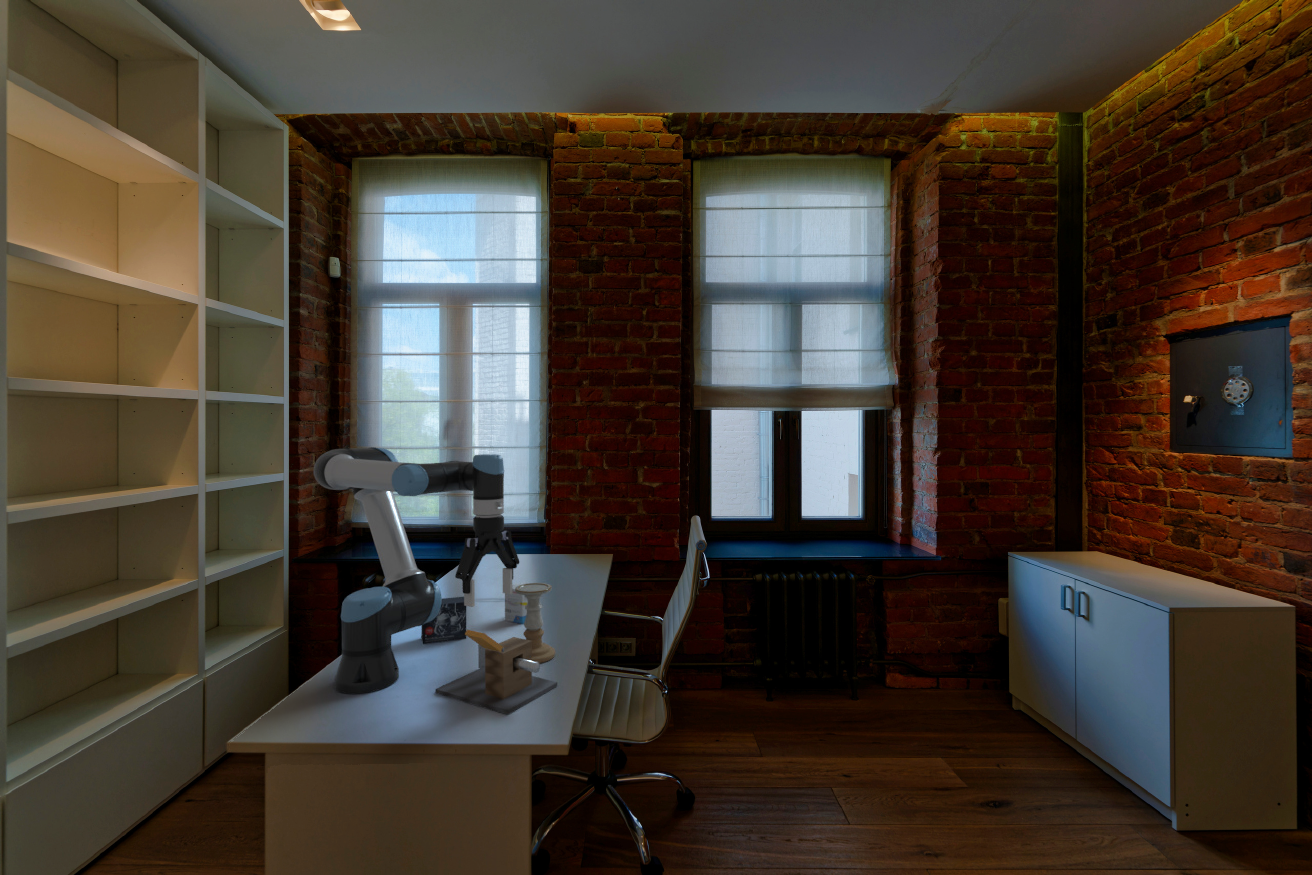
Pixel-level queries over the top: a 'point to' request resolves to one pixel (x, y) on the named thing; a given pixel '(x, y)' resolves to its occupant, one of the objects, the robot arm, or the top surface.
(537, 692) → the hitch block
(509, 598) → the ink box
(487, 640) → the plate
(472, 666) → the top surface
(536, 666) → the lynch pin
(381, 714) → the top surface
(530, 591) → the candle holder
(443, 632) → the small box
